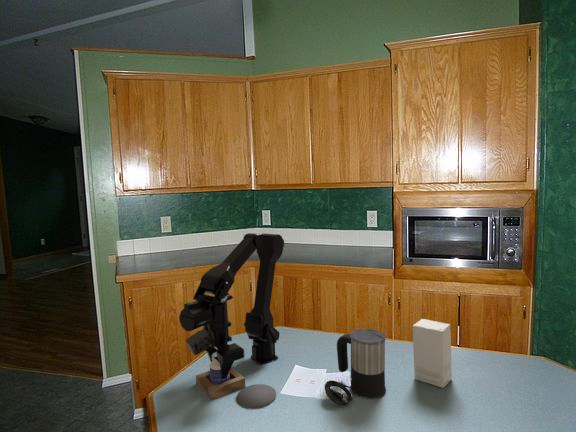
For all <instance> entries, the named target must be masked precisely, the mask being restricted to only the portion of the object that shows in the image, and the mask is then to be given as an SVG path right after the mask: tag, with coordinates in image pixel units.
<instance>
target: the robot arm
mask: <svg viewBox="0 0 576 432" xmlns="http://www.w3.org/2000/svg"><path fill="white" fill-rule="evenodd" d="M284 247H285V240H284V238H283V236H282V235H281V234H278V233H261V234H260V233H254V232H253V233H251V232H250V233H246V234H244V236H243V237H242V240H241V241H240V242H238V244H237V245H236V246H235V248H234V249H233V250H232V251H231V252H230V253H229V254H228V255H227V256H226V258H225V259H224V260H223V261H222V262H220V264H217V265H215V266H214V267H211V268H210V269H209V270H207V271H206V272H204V274H202V277H200V278H201V279H200V282H199V283H198V286H197V289H196V291H195V293H194V296H192V297H193V298H192V300H194V301H191V302H187V303H186V302H185V303H184V305H183V309H182V310H181V311H180V313H179V317H178V318H179V323H180V326H181V327H182V329H183V330H184V331H185V332H192V331H194V330H196V329H199V328H200V327H202V329H200V330H198V331H197V332H195V333H193V334H191V336H189V337H187V338H186V339H185V343H186V345H187V348H188V349H189V351H190V352H191V353H192V354H193V355H195V356H197V355H198V356H199V355H200V354H201V353H204V352H206V353H207V355H208V358H209V361H210V363H211V362H212V354H213V353H215V352H217V357H214V358H215V359H216V360H217V361H218V362H219V363H220V369H221V374H222V378H223V379H225V378H227V376H228V374H229V371H230V369H231V367H232V366H233V364H234V363H235V362H236V361H238V360H241V359H245V349H244V348H243V347H241V346H240V345H238V344H237V343H235V342H234V343H230V344H228V342H232V341H233V338H232V335H230V333H229V332H230V331H229V327H231V326H232V322H231V321H229V315H228V314H229V313H228V312H229V311H228V301H230V300H232V299H233V298H234V296H232V295H231V294H230V293H229V291H230V290H231V289H232V286H233V285H234V283H235V277H236V275H237V273H238V272H239V271H240V270H241V268H242V267H243V265H245V263H246V262H247V261H248V260H249V259H250V257H251V256H252V255H253V254H254V252H255V251H256V253H257V257H258V259H259V265H258V266H259V267H258V274H257V280H256V287H255V288H256V289H255V297H254V303H253V307H252V309H251V310H250V311H249V312H245V313H246V314H245V321H244V324H243V326H244V330H245V332H246V335H247V336H248V339H249V340H252V345H251V355H250V358H251V359H252V360H254V361H255V362H257V363H258V364H260V365H264V364H267V363H271V362H272V361H275V360H278V359H279V356H278V355H276V344H277V341H278V340H279V339H280V334H281V333H280V332H279V330H277V329H276V328H275V327H274V317H273V314H272V312H271V303H272V301H271V300H272V293H273V286H274V279H275V272H276V271H275V270H276V264H277V262H278V260H279V259H280V258H281V256H282V254H283V251H284ZM208 294H209V295H208ZM232 368H233V367H232Z"/></svg>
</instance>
